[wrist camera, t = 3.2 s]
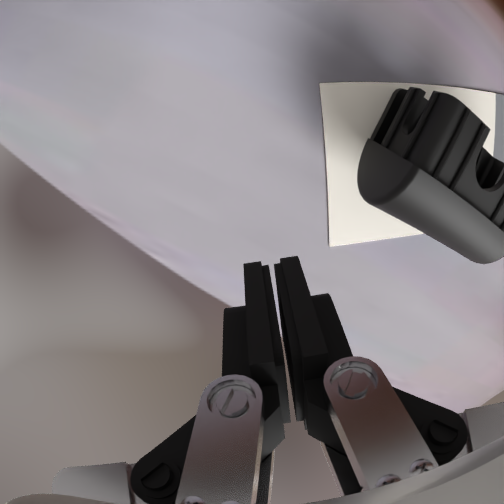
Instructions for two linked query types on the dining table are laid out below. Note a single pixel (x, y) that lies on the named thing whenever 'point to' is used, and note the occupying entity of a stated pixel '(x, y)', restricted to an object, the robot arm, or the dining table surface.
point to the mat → (499, 128)
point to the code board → (351, 146)
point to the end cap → (436, 173)
